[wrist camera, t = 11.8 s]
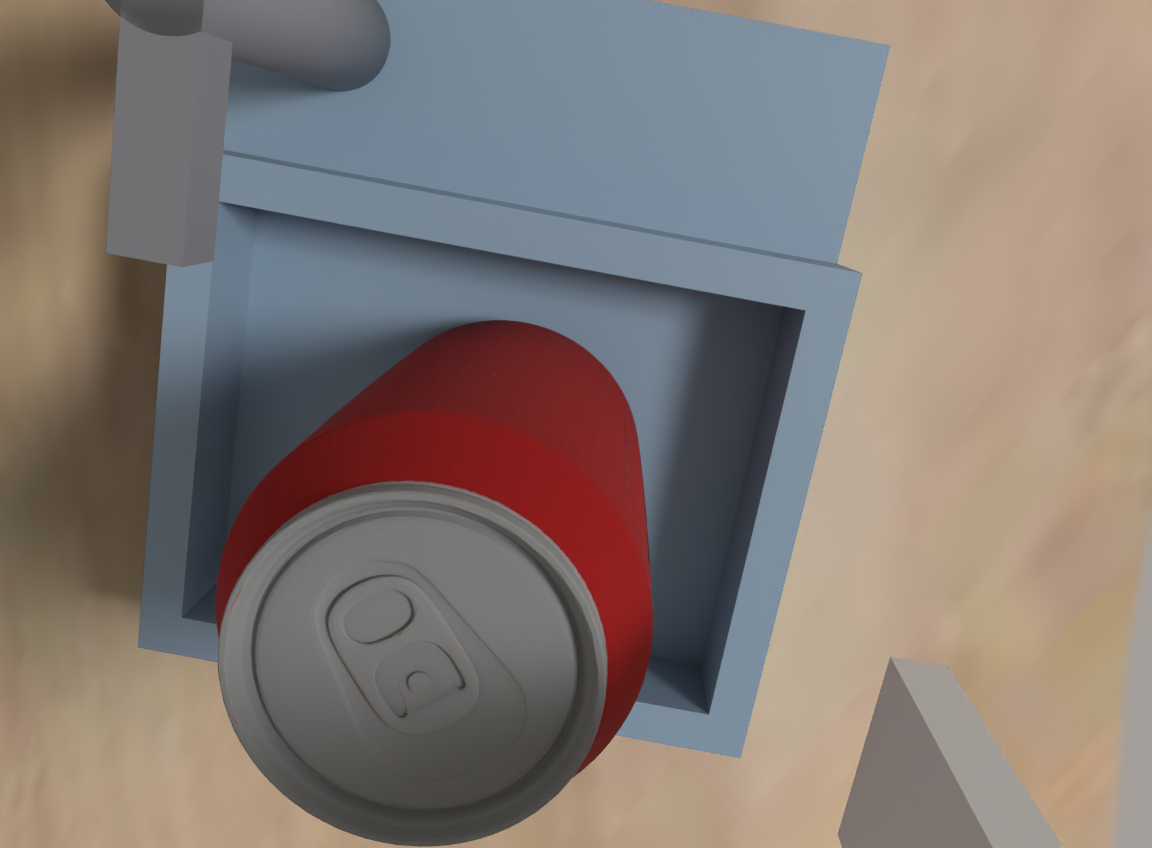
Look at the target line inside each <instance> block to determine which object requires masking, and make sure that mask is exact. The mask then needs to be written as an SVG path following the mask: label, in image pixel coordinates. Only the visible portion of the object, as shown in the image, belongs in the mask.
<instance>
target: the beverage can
mask: <svg viewBox="0 0 1152 848" xmlns="http://www.w3.org/2000/svg"><path fill="white" fill-rule="evenodd" d="M216 622H217V630H218V638H219V641H218V673H219V680H220V686H221V691H222V696H223V701H224V704H225V707H226V710H227V713H228V716H229V719H230V721H231V724H232V726H233V729H234V731H235V733H236V735H237V736H238V738H239V740H240V742H241V744H242V746H243V747H244V749H245V750H246V752H247V753H248V755H249V757H250V758H251V759H252V761H253V762H254V763H255V765H256V766H257V767H258V769H259V770H260V771H261V772H262V773H263V774H264V776H265V777H266V778H267V779H268V780H269V781H270V782H271V783H272V784H273V785H274V786H275V787H276V788H277V789H278V790H279V791H280V792H281V793H282V794H283V795H285V796H286V797H287V798H288V799H290V800H291V801H292V802H294V803H295V804H296V805H298V806H299V807H300V808H302V809H303V810H305V811H306V812H308V813H309V814H311V815H313V816H315V817H316V818H318V819H320V820H321V821H323V822H325V823H328V824H330V825H332V826H334V827H336V828H338V829H340V830H343V831H345V832H348V833H351V834H354V835H357V836H360V837H363V838H366V839H370V840H374V841H379V842H383V843H389V844H395V845H405V846H443V845H452V844H459V843H464V842H468V841H473V840H477V839H480V838H484V837H487V836H490V835H493V834H495V833H498V832H500V831H503V830H505V829H508V828H510V827H512V826H513V825H515V824H517V823H519V822H521V821H523V820H524V819H526V818H527V817H529V816H531V815H532V814H534V813H536V812H537V811H538V810H539V809H541V808H542V807H543V806H544V805H546V804H547V803H548V802H549V801H550V800H552V799H553V798H554V797H555V796H556V795H557V794H558V793H559V792H560V791H561V790H562V789H563V788H564V787H565V786H566V784H567V783H568V782H569V781H570V780H571V778H573V777H574V776H575V775H577V774H578V773H579V772H581V771H582V770H583V769H584V768H585V767H586V766H588V765H589V764H590V763H591V762H592V761H593V760H594V759H595V758H596V757H597V756H598V755H599V754H600V753H601V752H602V751H603V750H604V749H605V747H606V746H607V745H608V744H609V743H610V741H611V740H612V739H613V737H614V736H615V735H616V734H617V732H618V731H619V730H620V728H621V727H622V725H623V723H624V722H625V720H626V719H627V717H628V715H629V714H630V712H631V710H632V708H633V706H634V704H635V702H636V700H637V698H638V695H639V693H640V690H641V688H642V685H643V682H644V679H645V675H646V672H647V668H648V664H649V659H650V654H651V648H652V637H653V606H652V588H651V570H650V555H649V541H648V528H647V515H646V504H645V494H644V484H643V475H642V465H641V457H640V449H639V442H638V435H637V430H636V425H635V421H634V418H633V414H632V411H631V409H630V406H629V404H628V402H627V399H626V397H625V395H624V393H623V392H622V390H621V388H620V387H619V385H618V383H617V382H616V380H615V379H614V378H613V376H612V375H611V374H610V372H609V371H608V370H607V369H606V368H605V367H604V365H603V364H602V363H601V362H600V361H599V360H598V359H597V358H596V357H595V356H593V355H592V354H591V353H590V352H589V351H587V350H586V349H585V348H584V347H582V346H581V345H579V344H578V343H576V342H575V341H573V340H571V339H569V338H568V337H566V336H564V335H562V334H560V333H558V332H555V331H553V330H551V329H548V328H545V327H542V326H538V325H534V324H530V323H526V322H519V321H509V320H490V321H480V322H475V323H470V324H466V325H462V326H459V327H455V328H453V329H450V330H448V331H445V332H443V333H441V334H439V335H437V336H435V337H433V338H432V339H430V340H428V341H427V342H425V343H424V344H422V345H421V346H420V347H418V348H417V349H416V350H414V351H413V352H411V353H410V354H409V355H407V356H406V357H405V358H403V359H402V360H401V361H399V362H398V363H397V364H395V365H394V366H393V367H392V368H390V369H389V370H388V371H387V372H385V373H384V374H383V375H381V376H380V377H379V378H378V379H376V380H375V381H374V382H373V383H371V384H370V385H369V386H368V387H366V388H365V389H364V390H363V391H362V392H360V393H359V394H358V395H357V396H356V397H354V398H353V399H352V400H351V401H350V402H348V403H347V404H346V405H345V406H343V407H342V408H341V409H340V410H339V411H337V412H336V413H335V414H334V415H333V416H331V417H330V418H329V419H328V420H327V421H326V422H325V423H323V424H322V425H321V426H320V427H319V428H318V429H317V430H315V431H314V432H313V433H312V434H311V435H310V436H309V437H307V438H306V439H305V440H304V441H303V442H302V443H301V444H299V445H298V446H297V447H296V448H295V449H294V450H293V451H291V452H290V453H289V454H288V455H287V456H286V457H285V458H283V459H282V460H281V461H280V462H279V463H278V464H277V465H276V466H275V467H273V468H272V469H271V470H270V471H269V473H268V474H267V475H266V476H265V477H264V478H263V479H262V480H261V481H260V482H259V484H258V485H257V486H256V488H255V489H254V490H253V492H252V493H251V494H250V496H249V497H248V498H247V500H246V502H245V503H244V505H243V507H242V508H241V510H240V511H239V513H238V515H237V517H236V519H235V521H234V524H233V526H232V528H231V530H230V533H229V535H228V538H227V541H226V543H225V547H224V550H223V554H222V558H221V562H220V567H219V573H218V579H217V591H216Z"/></svg>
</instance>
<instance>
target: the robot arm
mask: <svg viewBox="0 0 1152 848" xmlns="http://www.w3.org/2000/svg"><path fill="white" fill-rule="evenodd" d="M838 836H839V839H840V842H841V845H842V848H1063V846H1062V845H1061V843H1060V842H1059V840H1058V839H1057V837H1056V835H1055V834H1054V832H1053V831H1052V829H1051V828H1050V826H1049V824H1048V823H1047V821H1046V820H1045V818H1044V817H1043V815H1042V813H1041V812H1040V810H1039V809H1038V807H1037V806H1036V804H1035V802H1034V801H1033V799H1032V798H1031V796H1030V795H1029V793H1028V791H1027V790H1026V788H1025V787H1024V785H1023V784H1022V782H1021V781H1020V779H1019V777H1018V776H1017V774H1016V773H1015V771H1014V770H1013V768H1012V766H1011V765H1010V763H1009V762H1008V760H1007V759H1006V757H1005V755H1004V754H1003V752H1002V751H1001V749H1000V748H999V746H998V744H997V743H996V741H995V740H994V738H993V737H992V735H991V733H990V732H989V730H988V729H987V727H986V726H985V724H984V722H983V721H982V719H981V718H980V716H979V715H978V713H977V712H976V710H975V708H974V707H973V705H972V704H971V702H970V701H969V699H968V697H967V696H966V694H965V693H964V691H963V690H962V688H961V686H960V685H959V683H958V682H957V680H956V679H955V677H954V675H953V674H952V672H951V671H950V669H949V668H948V667H944V666H938V665H933V664H927V663H922V662H917V661H911V660H906V659H900V658H895V657H890V660H889V663H888V667H887V670H886V673H885V677H884V680H883V684H882V687H881V690H880V694H879V697H878V700H877V704H876V707H875V711H874V714H873V717H872V721H871V724H870V727H869V731H868V734H867V737H866V741H865V744H864V748H863V751H862V754H861V758H860V761H859V764H858V768H857V771H856V775H855V778H854V781H853V785H852V788H851V791H850V795H849V798H848V802H847V805H846V808H845V812H844V815H843V818H842V822H841V825H840V828H839V832H838Z"/></svg>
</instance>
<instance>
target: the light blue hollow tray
mask: <svg viewBox="0 0 1152 848" xmlns="http://www.w3.org/2000/svg"><path fill="white" fill-rule="evenodd" d="M105 1H106V2H107V3H108V4H109V6H110V7H111V8H112V9H113V10H114V11H115V12H116V13H117V14H118V15H119V16H120V26H119V42H118V59H117V75H116V92H115V108H114V125H113V141H112V158H111V174H110V191H109V207H108V224H107V240H106V253H108V254H113V255H119V256H124V257H130V258H135V259H140V260H146V261H151V262H157V263H162V264H167V271H166V284H165V297H164V310H163V323H162V337H161V350H160V363H159V376H158V389H157V402H156V416H155V429H154V442H153V455H152V468H151V481H150V494H149V508H148V521H147V534H146V547H145V560H144V573H143V586H142V600H141V613H140V626H139V639H138V648H144V649H149V650H155V651H160V652H166V653H171V654H177V655H182V656H187V657H193V658H198V659H204V660H209V661H215V662H218V641H219V638H218V630H217V622H216V591H217V579H218V573H219V567H220V562H221V558H222V554H223V550H224V547H225V543H226V541H227V538H228V535H229V533H230V530H231V528H232V526H233V524H234V521H235V519H236V517H237V515H238V513H239V511H240V510H241V508H242V507H243V505H244V503H245V502H246V500H247V498H248V497H249V496H250V494H251V493H252V492H253V490H254V489H255V488H256V486H257V485H258V484H259V482H260V481H261V480H262V479H263V478H264V477H265V476H266V475H267V474H268V473H269V471H270V470H271V469H272V468H273V467H275V466H276V465H277V464H278V463H279V462H280V461H281V460H282V459H283V458H285V457H286V456H287V455H288V454H289V453H290V452H291V451H293V450H294V449H295V448H296V447H297V446H298V445H299V444H301V443H302V442H303V441H304V440H305V439H306V438H307V437H309V436H310V435H311V434H312V433H313V432H314V431H315V430H317V429H318V428H319V427H320V426H321V425H322V424H323V423H325V422H326V421H327V420H328V419H329V418H330V417H331V416H333V415H334V414H335V413H336V412H337V411H339V410H340V409H341V408H342V407H343V406H345V405H346V404H347V403H348V402H350V401H351V400H352V399H353V398H354V397H356V396H357V395H358V394H359V393H360V392H362V391H363V390H364V389H365V388H366V387H368V386H369V385H370V384H371V383H373V382H374V381H375V380H376V379H378V378H379V377H380V376H381V375H383V374H384V373H385V372H387V371H388V370H389V369H390V368H392V367H393V366H394V365H395V364H397V363H398V362H399V361H401V360H402V359H403V358H405V357H406V356H407V355H409V354H410V353H411V352H413V351H414V350H416V349H417V348H418V347H420V346H421V345H422V344H424V343H425V342H427V341H428V340H430V339H432V338H433V337H435V336H437V335H439V334H441V333H443V332H445V331H448V330H450V329H453V328H455V327H459V326H462V325H466V324H470V323H475V322H480V321H490V320H509V321H519V322H526V323H530V324H534V325H538V326H542V327H545V328H548V329H551V330H553V331H555V332H558V333H560V334H562V335H564V336H566V337H568V338H569V339H571V340H573V341H575V342H576V343H578V344H579V345H581V346H582V347H584V348H585V349H586V350H587V351H589V352H590V353H591V354H592V355H593V356H595V357H596V358H597V359H598V360H599V361H600V362H601V363H602V364H603V365H604V367H605V368H606V369H607V370H608V371H609V372H610V374H611V375H612V376H613V378H614V379H615V380H616V382H617V383H618V385H619V387H620V388H621V390H622V392H623V393H624V395H625V397H626V399H627V402H628V404H629V406H630V409H631V411H632V414H633V418H634V421H635V425H636V430H637V435H638V442H639V449H640V457H641V465H642V475H643V484H644V494H645V504H646V515H647V528H648V541H649V555H650V570H651V588H652V606H653V637H652V648H651V654H650V659H649V664H648V668H647V672H646V675H645V679H644V682H643V685H642V688H641V690H640V693H639V695H638V698H637V700H636V702H635V704H634V706H633V708H632V710H631V712H630V714H629V715H628V717H627V719H626V720H625V722H624V723H623V725H622V727H621V728H620V730H619V731H618V732H617V734H616V735H617V736H623V737H628V738H634V739H639V740H644V741H650V742H655V743H661V744H666V745H672V746H677V747H683V748H688V749H693V750H699V751H704V752H710V753H715V754H721V755H726V756H732V757H737V758H741V754H742V750H743V746H744V742H745V738H746V734H747V730H748V726H749V722H750V718H751V714H752V710H753V706H754V702H755V698H756V694H757V690H758V686H759V682H760V678H761V674H762V670H763V666H764V662H765V658H766V654H767V650H768V646H769V642H770V638H771V634H772V630H773V627H774V623H775V619H776V615H777V611H778V607H779V603H780V599H781V595H782V591H783V587H784V583H785V579H786V575H787V571H788V567H789V563H790V559H791V555H792V551H793V547H794V543H795V539H796V535H797V531H798V527H799V523H800V519H801V515H802V511H803V507H804V503H805V499H806V495H807V491H808V487H809V483H810V479H811V475H812V471H813V467H814V463H815V459H816V455H817V451H818V447H819V444H820V440H821V436H822V432H823V428H824V424H825V420H826V416H827V412H828V408H829V404H830V400H831V396H832V392H833V388H834V384H835V380H836V376H837V372H838V368H839V364H840V360H841V356H842V352H843V348H844V344H845V340H846V336H847V332H848V328H849V324H850V320H851V316H852V312H853V308H854V304H855V300H856V296H857V292H858V288H859V284H860V280H861V276H862V273H860V272H857V271H855V270H852V269H849V268H847V267H844V266H842V265H839V264H837V261H838V257H839V253H840V249H841V245H842V241H843V237H844V233H845V229H846V225H847V221H848V216H849V212H850V208H851V204H852V200H853V196H854V192H855V188H856V184H857V180H858V176H859V171H860V167H861V163H862V159H863V155H864V151H865V147H866V143H867V139H868V135H869V131H870V126H871V122H872V118H873V114H874V110H875V106H876V102H877V98H878V94H879V90H880V86H881V81H882V77H883V73H884V69H885V65H886V61H887V57H888V53H889V49H890V45H885V44H879V43H874V42H869V41H863V40H858V39H852V38H847V37H842V36H836V35H831V34H826V33H820V32H815V31H810V30H804V29H799V28H794V27H788V26H783V25H778V24H772V23H767V22H762V21H756V20H751V19H746V18H740V17H735V16H730V15H724V14H719V13H714V12H708V11H703V10H698V9H692V8H687V7H682V6H676V5H671V4H666V3H660V2H655V1H649V0H105Z"/></svg>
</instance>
